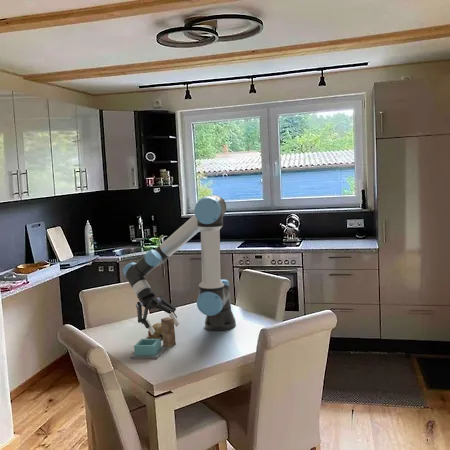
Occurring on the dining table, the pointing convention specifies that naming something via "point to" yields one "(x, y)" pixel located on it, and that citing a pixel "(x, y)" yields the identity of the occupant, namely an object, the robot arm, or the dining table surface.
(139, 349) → the teal square socket
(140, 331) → the dining table surface
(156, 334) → the bread roll
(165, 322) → the walnut post
